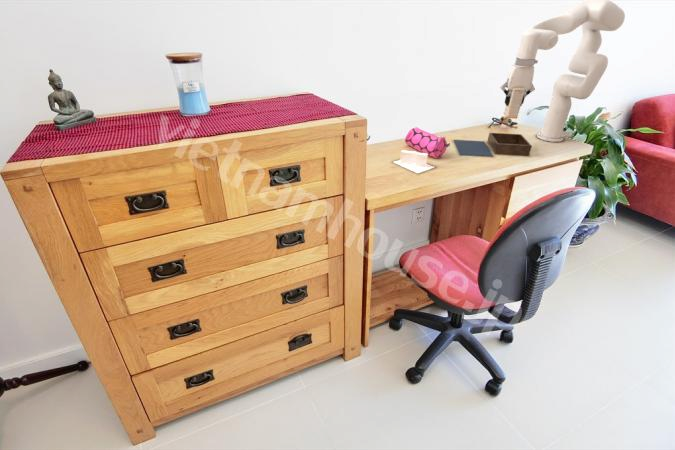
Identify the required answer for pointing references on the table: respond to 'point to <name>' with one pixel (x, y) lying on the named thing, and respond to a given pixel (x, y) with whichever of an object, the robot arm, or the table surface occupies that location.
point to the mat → (472, 148)
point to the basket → (509, 144)
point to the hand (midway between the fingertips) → (513, 104)
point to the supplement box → (514, 103)
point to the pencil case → (426, 142)
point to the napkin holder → (414, 161)
